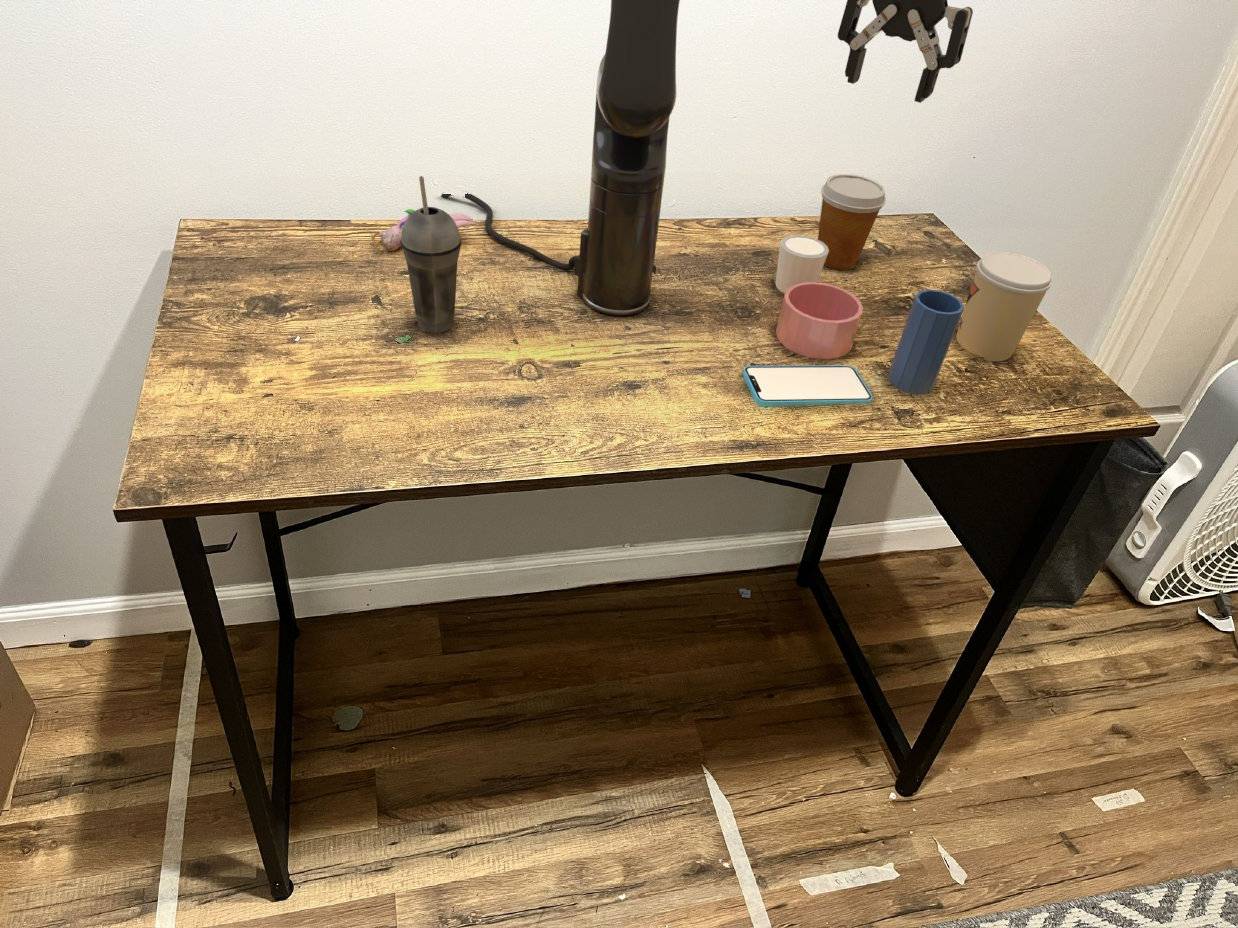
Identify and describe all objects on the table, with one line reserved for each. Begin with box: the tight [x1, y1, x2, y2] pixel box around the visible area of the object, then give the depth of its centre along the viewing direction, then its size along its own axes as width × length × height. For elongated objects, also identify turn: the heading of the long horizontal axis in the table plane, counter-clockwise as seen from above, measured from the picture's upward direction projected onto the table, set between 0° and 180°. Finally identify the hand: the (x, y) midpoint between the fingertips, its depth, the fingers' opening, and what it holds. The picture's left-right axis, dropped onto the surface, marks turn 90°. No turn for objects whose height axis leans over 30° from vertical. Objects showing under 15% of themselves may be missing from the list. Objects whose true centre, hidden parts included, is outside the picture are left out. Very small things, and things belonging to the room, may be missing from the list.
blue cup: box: [887, 288, 965, 395], centre depth 110 cm, size 6×6×12 cm
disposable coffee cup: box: [817, 173, 887, 271], centre depth 134 cm, size 10×10×12 cm
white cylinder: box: [774, 234, 829, 294], centre depth 127 cm, size 7×7×7 cm
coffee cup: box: [955, 251, 1053, 362], centre depth 118 cm, size 9×9×12 cm
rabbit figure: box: [370, 208, 476, 253], centre depth 129 cm, size 6×6×15 cm
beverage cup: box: [400, 175, 463, 334], centre depth 108 cm, size 7×7×20 cm
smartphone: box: [742, 364, 874, 408], centre depth 110 cm, size 8×1×15 cm
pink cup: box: [775, 281, 864, 360], centre depth 117 cm, size 10×10×6 cm
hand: (885, 91), depth 106 cm, fingers open, 8 cm apart
